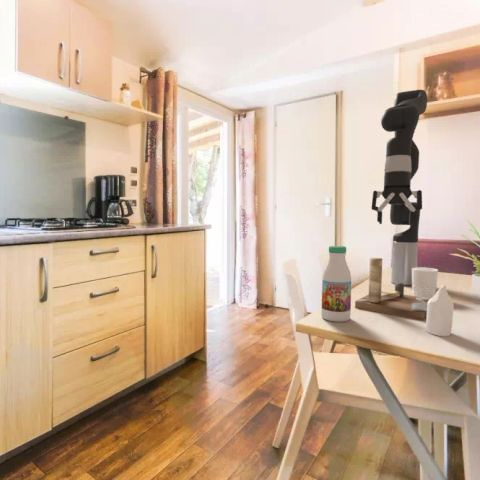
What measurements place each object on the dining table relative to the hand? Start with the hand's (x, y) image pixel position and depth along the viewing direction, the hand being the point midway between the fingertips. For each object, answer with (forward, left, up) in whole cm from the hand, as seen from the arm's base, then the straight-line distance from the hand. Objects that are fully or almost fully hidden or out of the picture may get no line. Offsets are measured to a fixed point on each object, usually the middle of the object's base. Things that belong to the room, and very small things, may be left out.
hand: (395, 224), depth 107 cm
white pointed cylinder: (+19, +16, -26) cm, 36 cm away
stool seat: (+2, +2, -26) cm, 26 cm away
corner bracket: (+8, +9, -24) cm, 26 cm away
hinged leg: (+3, -1, -23) cm, 23 cm away
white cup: (-16, +5, -26) cm, 31 cm away
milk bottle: (+25, -8, -26) cm, 37 cm away
